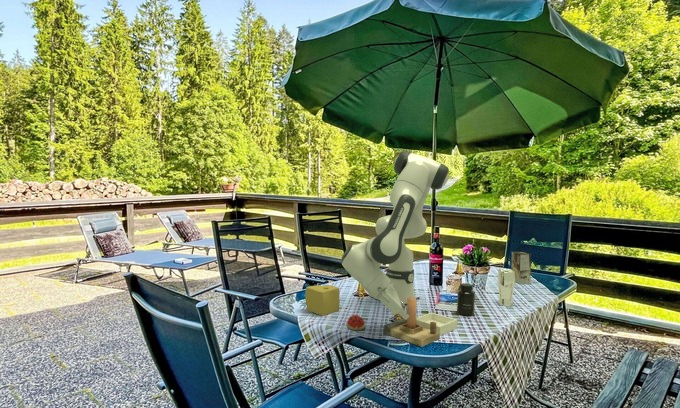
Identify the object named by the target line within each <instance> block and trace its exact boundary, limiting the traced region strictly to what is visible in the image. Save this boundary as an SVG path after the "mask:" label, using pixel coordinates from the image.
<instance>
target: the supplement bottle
mask: <svg viewBox="0 0 680 408" xmlns="http://www.w3.org/2000/svg"><path fill="white" fill-rule="evenodd" d="M473 286H474V285H473V284H471V283H465V282H463V283H460V286H459V287H460V288H459V289H460V290H458V291H457V298H456V300H457V301H456V313H457V314H459V315H460V316H466V317H472V316H474V315H475V309H476V308H475V307H476V305H475V303H476V301H475V300H476V294H475V292H474V291H473Z"/></svg>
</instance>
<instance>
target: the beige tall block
mask: <svg viewBox="0 0 680 408" xmlns="http://www.w3.org/2000/svg"><path fill="white" fill-rule="evenodd" d="M497 270H498V272H497V287H498V293H499V294H498V295H499V296H498V300H497V304H498V305H500V306H503V307H513V306H514V303H513V293H514V289H515V284H516V282H515V273H514V272H515V271H513V270H511V269H507V268H500V269H497Z"/></svg>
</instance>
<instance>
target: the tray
mask: <svg viewBox="0 0 680 408" xmlns="http://www.w3.org/2000/svg"><path fill="white" fill-rule="evenodd" d="M430 322H436V332H438V333H439V337H441V336H443V335H444V334H445V335H446V334H447V333H449V332H451V331H452V332H453V331H454V330H456V329H458V319H456V318H452V317H449V316H445V315H441V314H438V313H435V312H432V311H431V312H429V313H427V314H423V315H420V316H416V324H418V325H421V326H423V328H425V329H429V330H430Z"/></svg>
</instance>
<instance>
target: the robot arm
mask: <svg viewBox="0 0 680 408" xmlns="http://www.w3.org/2000/svg"><path fill="white" fill-rule="evenodd" d="M393 171H394V173H395V174H397V176H398V177H397V179H396V180H395V182H394V184H393V186H392V189H391V192H390V195H389V201H390V203H391V205H392V207H393V209H392V210H393V211H392V213H391V214H389V215H384V216H382V217H379V218H378V219H377V221H376V223H375V232H376V236H373V237H371V238H369V239H367V240H365V241H362V242H361V243H360V242H359V243H356V244H351V245H350V246H348V247H347V249H346V250H345V251H344V253H343V254H342V256H341V260H340V263H341V265H342V266H343V268H344V270H345V271H346V272H347V273H348V274H349V275H350V277H351V278H352V279H354V280H355V281H357V282H358V283H359V284H360V286H361V287H362V289H364V291H366V293H368V296H369V297H372V298H373V299H376V300H379V301H380V302H381V303H382V304H383V305H384V306H385V307H386V308H387V310H388V311H389V312H391V314H392V315H394V316H397V315H399V316H400V317H402V319H403V318H404V319H405V320H407V319H408V318H409V315H408V314H407V311H405V310H407V306H406V305H407V298H416V299H417V297H416V292H415V285H414V279H415V268H414V252H413V251H412V249H411V248H408V247H407V246H406V243H405V239H416V238H418V237H422V236H424V235H425V233H426V231H427V228H428V225H427V224H428V223H427V221H426V219H425V218H424V217H423V209H424V206H425V203H426V200H427V198H428V196H429V193H430V190H431V189H433V190H440V189H442V188H443V187H444V186H446V185H447V183H448V180H449V178H450V176H449V175H450V169H449V167H448V166H447V165H445V164H444V163H440V162H438V161H437V160H435V159H432V158H431V157H428V156H423V155H421V154H417V153H413V152H412V151H408V150H403V151H400V153H399V154H398V155H396V158H395V159H394V163H393ZM382 265H388V268H386V269H384V270H382V269H381V268H380V267H381V266H382ZM401 301H402V302H403V303H402V302H401ZM405 304H406V305H405Z"/></svg>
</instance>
